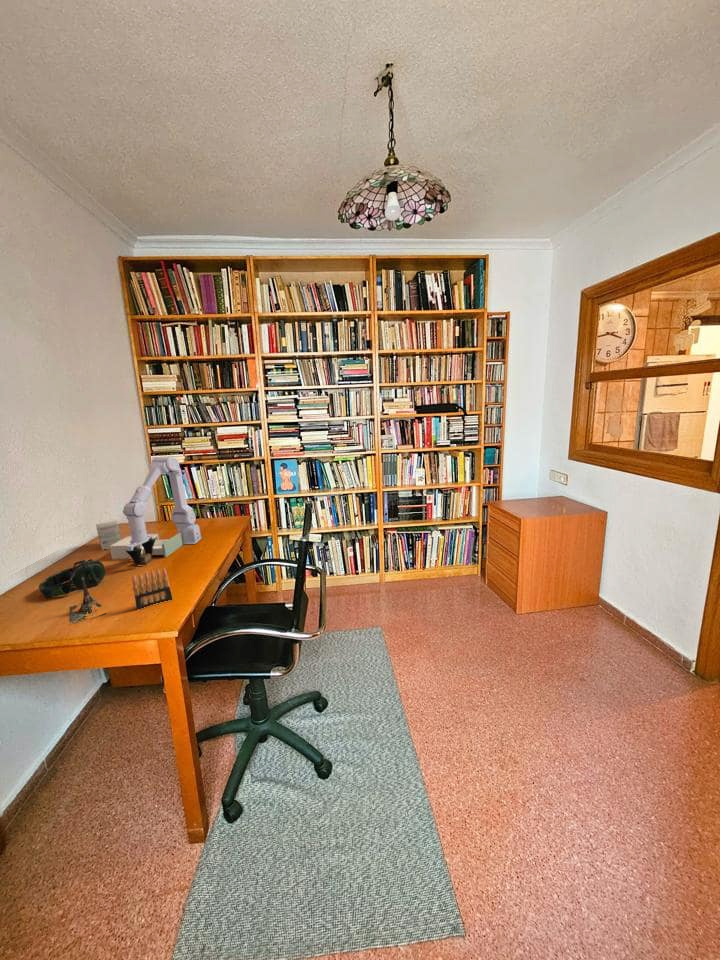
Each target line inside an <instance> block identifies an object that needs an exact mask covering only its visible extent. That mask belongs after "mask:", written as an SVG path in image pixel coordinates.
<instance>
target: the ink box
mask: <svg viewBox="0 0 720 960" xmlns="http://www.w3.org/2000/svg"><path fill="white" fill-rule="evenodd" d="M95 526H96V531H97V535H98V540H99V545H100V548H101V550H102V551H104V550H103V549H107V548H110V546H111V545H112V544H114V543H116V542H118V541H120V540H122V536H121V531H120V526H119V524H118V521H117V520H115V519H114V520H111V521H106V522H100V523H98V524H97V523H96V524H95ZM107 550H108V549H107Z"/></svg>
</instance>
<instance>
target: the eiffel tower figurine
mask: <svg viewBox="0 0 720 960" xmlns="http://www.w3.org/2000/svg"><path fill="white" fill-rule="evenodd" d="M81 579H82V583H83V588H82V591H83V596H82V598H83V599H82V603H80V608H79V609H78V611H74V610H76V609H77V608H78V607H77V606H78V605H77V604H76V605H77V606H76V605H72V606H71V605H70V606H69V623H75V624H76V623H80V622H79V621H81V622H83V621H82V620H85V619H87V618H85V617H87V616H85V615H86V614H87V612H88V614H91V613H92V614H94V613H93V612H92V609H91V608H92V605H96V606H98V607H101V606H102V605H103V604H101V603H99V602H97V601H96V599H94V598H93V597H92V596H91V594H90V593H89V590H88V589H87V588H88V587H86V584H85V581H84V577H82V578H81ZM86 608H87V609H86ZM101 608H102V607H101ZM92 614H91V615H92ZM81 619H82V620H81ZM85 621H86V620H85Z"/></svg>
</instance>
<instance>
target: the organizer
mask: <svg viewBox="0 0 720 960" xmlns="http://www.w3.org/2000/svg"><path fill="white" fill-rule="evenodd" d="M148 534H149V533H147V535H148ZM152 534H153V538H152V539H155V540H160V536H159V533H152ZM131 540H132V537H131V534H130V535H128V536H126V537H123V538H121V540H120V541H118V542H116V543H114V544H112V545H111V546H110V549H109V550H110V551H109V552H110V554H111V559H112V560H117V559H116V558H132V557H131V556H130V555H129V554H128V553H127V552H126V550H127V546H128V545H129V544H130V541H131ZM137 548H138V549H142V544H141V545H139V546H138V547H137ZM141 554H143V551H142V550H141Z"/></svg>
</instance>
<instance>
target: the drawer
mask: <svg viewBox="0 0 720 960" xmlns="http://www.w3.org/2000/svg"><path fill="white" fill-rule="evenodd" d="M182 546H183V545H182V539H181V533H178V532H177V534H175V535H174V536H172V537H171V538H169V539H159V540H155V543H154V546H153V551H152V556H163V558H168V557H169V556H170V555H171V554H173V553H174V552H176V551H177V550H178V549H180V548H182ZM142 551H143V554H145V551H144V548H143V546H142Z"/></svg>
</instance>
